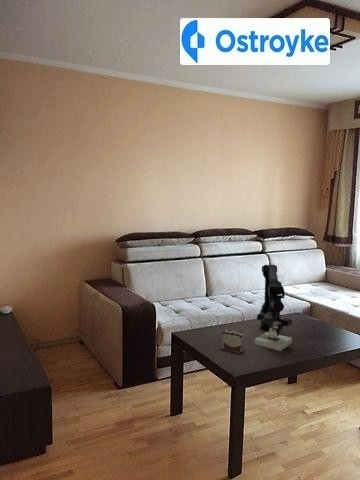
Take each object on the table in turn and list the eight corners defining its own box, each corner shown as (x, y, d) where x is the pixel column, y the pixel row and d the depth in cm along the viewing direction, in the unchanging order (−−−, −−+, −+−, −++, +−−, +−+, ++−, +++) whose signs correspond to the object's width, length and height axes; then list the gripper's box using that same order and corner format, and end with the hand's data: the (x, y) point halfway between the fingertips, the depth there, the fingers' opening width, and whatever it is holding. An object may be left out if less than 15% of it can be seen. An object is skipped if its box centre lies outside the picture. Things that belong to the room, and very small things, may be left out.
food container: (247, 349, 209) (247, 331, 208) (242, 353, 204) (243, 334, 203) (225, 344, 215) (226, 327, 214) (221, 348, 210) (221, 330, 209)
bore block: (254, 344, 217) (254, 338, 217) (267, 336, 229) (267, 331, 228) (280, 351, 208) (280, 345, 207) (291, 343, 219) (292, 337, 219)
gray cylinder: (267, 341, 218) (267, 327, 217) (271, 339, 221) (272, 325, 221) (275, 343, 214) (276, 329, 214) (279, 341, 218) (280, 327, 217)
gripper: (252, 306, 216) (251, 334, 218) (283, 313, 204) (282, 342, 205) (262, 302, 224) (261, 329, 226) (293, 309, 212) (292, 337, 214)
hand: (273, 334), depth 218 cm, fingers closed on gray cylinder, 5 cm apart
